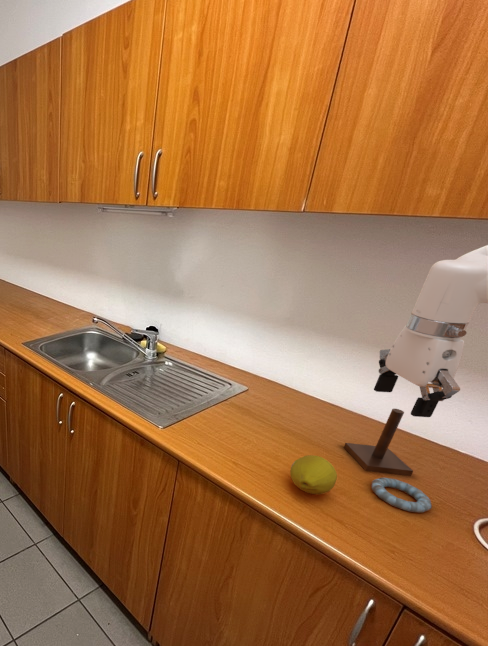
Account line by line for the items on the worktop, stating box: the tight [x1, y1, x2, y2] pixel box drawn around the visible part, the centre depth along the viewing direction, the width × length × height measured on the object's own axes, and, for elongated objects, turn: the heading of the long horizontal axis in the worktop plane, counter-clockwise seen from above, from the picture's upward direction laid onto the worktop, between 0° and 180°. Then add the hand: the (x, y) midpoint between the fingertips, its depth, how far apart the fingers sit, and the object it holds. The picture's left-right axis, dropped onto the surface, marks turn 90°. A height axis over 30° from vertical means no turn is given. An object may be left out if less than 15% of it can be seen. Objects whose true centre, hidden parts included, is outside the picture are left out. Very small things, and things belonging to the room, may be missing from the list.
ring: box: [371, 476, 433, 514], centre depth 86 cm, size 9×9×2 cm
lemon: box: [289, 454, 338, 495], centre depth 87 cm, size 11×8×8 cm
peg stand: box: [343, 408, 414, 477], centre depth 94 cm, size 9×9×14 cm
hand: (400, 403), depth 82 cm, fingers open, 9 cm apart
